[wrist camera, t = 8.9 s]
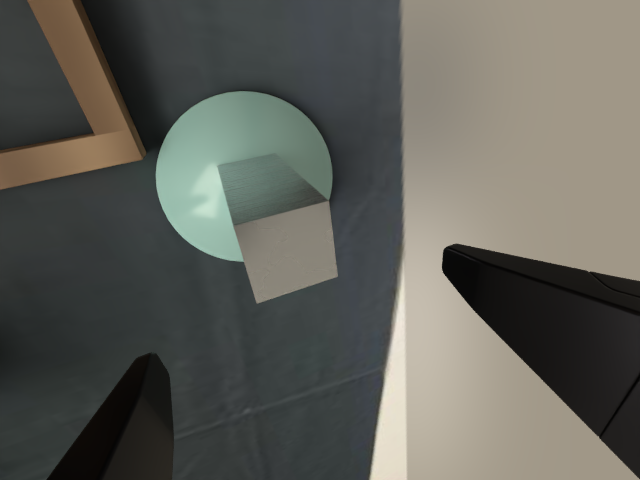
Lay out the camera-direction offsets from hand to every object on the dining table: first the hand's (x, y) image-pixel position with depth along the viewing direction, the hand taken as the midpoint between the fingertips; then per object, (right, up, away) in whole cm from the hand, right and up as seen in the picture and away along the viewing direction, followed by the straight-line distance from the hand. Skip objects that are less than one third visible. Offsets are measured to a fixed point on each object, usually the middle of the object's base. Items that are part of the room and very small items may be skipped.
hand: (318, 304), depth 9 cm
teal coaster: (-4, +6, +11) cm, 13 cm away
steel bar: (-4, +5, +10) cm, 12 cm away
